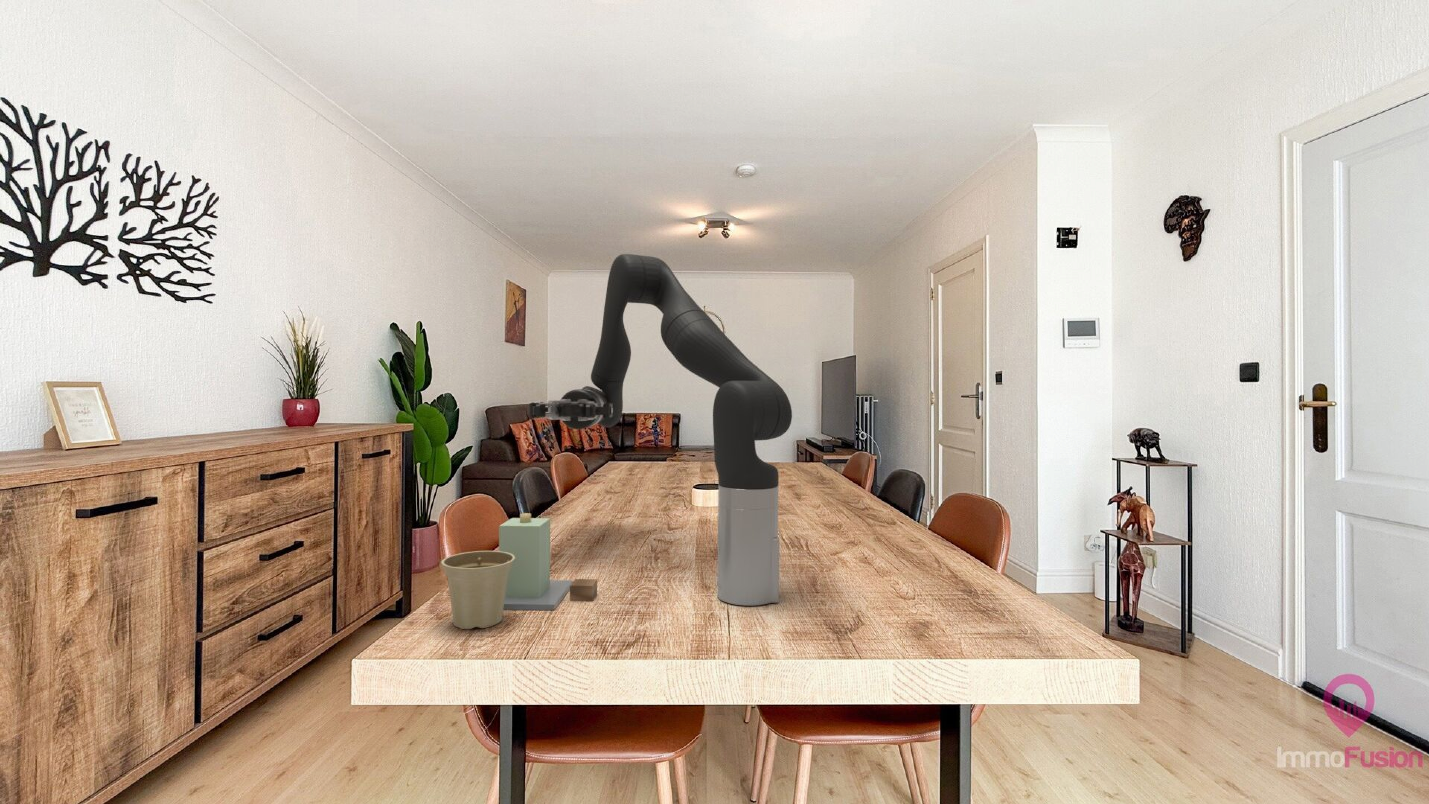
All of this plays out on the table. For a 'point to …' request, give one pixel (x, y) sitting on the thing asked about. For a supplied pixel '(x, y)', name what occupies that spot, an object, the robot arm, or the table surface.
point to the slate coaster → (540, 598)
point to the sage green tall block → (527, 555)
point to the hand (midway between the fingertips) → (562, 411)
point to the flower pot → (477, 586)
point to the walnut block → (583, 590)
